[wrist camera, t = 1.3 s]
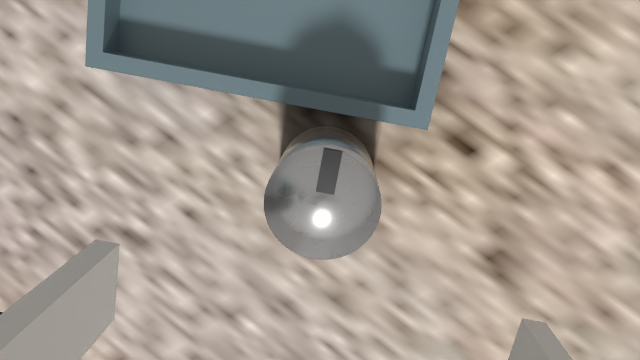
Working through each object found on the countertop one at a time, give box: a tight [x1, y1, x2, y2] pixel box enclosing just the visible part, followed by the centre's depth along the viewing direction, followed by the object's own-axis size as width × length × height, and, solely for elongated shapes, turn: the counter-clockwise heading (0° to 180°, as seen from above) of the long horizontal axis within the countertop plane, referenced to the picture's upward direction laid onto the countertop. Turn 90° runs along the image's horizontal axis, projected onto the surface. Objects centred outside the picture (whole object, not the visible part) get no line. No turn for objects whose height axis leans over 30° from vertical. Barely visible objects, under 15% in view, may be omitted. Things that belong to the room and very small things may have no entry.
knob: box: [264, 126, 381, 260], centre depth 29 cm, size 6×6×7 cm
